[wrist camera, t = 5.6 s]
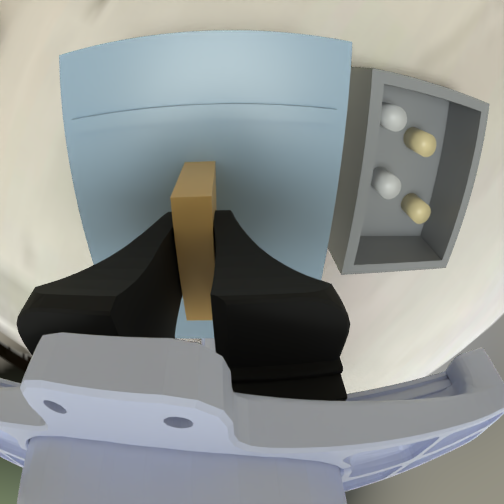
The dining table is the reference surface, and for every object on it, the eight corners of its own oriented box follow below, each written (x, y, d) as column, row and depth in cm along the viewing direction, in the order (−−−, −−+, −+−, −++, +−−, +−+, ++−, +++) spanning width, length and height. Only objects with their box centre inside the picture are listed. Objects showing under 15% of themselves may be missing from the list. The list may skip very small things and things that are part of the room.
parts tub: (421, 239, 26) (445, 267, 22) (324, 241, 25) (341, 274, 21) (452, 93, 18) (489, 103, 14) (344, 66, 17) (372, 68, 13)
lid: (303, 312, 19) (322, 382, 15) (125, 315, 18) (107, 384, 14) (337, 44, 10) (397, 36, 6) (78, 55, 10) (7, 58, 5)
